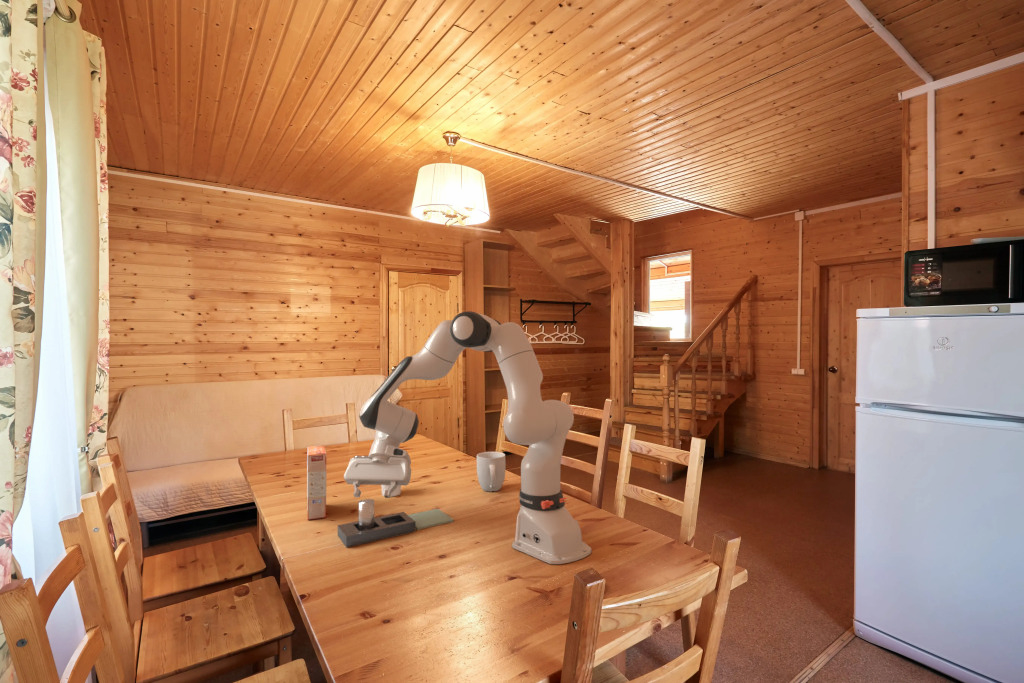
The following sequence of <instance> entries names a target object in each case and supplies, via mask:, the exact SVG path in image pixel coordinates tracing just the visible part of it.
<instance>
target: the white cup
mask: <svg viewBox="0 0 1024 683" xmlns="http://www.w3.org/2000/svg"><path fill="white" fill-rule="evenodd" d="M380 486H381V495H382V496H383V497H384V494H385V490H388V489H389V488H390V487H391V485H380ZM401 493H402V485H397V488H396V489H395V490H394V491H393V492H392V493H391V497H396V496H399V495H401ZM391 497H390V498H391Z"/></svg>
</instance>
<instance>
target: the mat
mask: <svg viewBox="0 0 1024 683" xmlns="http://www.w3.org/2000/svg"><path fill="white" fill-rule="evenodd" d="M407 515H408V516H409V517H411V518H412V519H413V520H414V521H415V524H416V530H417V531H418V530H423V529H427V528H431V527H434V526H435V527H436V526H440V525H444V524H448V523H453V522H454V521H455V519H453V518H452V517H451V516H449V515H448V514H446V513H445V512H444V511H442V510H440V509H439V508H434V509H429V510H425V511H420V512H416V513H412V514H407ZM454 523H455V522H454Z"/></svg>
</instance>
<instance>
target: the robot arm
mask: <svg viewBox="0 0 1024 683" xmlns="http://www.w3.org/2000/svg"><path fill="white" fill-rule="evenodd" d="M465 349H471V350H473V351H476V352H477V351H478V352H484V353H491V352H493V354H494V356H495V358H496V361H497V364H498V367H499V369H500V373H501V375H502V378H503V382H504V385H505V388H506V392H507V411H506V415H505V416H504V419H503V423H502V424H503V426H502V427H503V432H504V434H505V436H506V438H507V439H508V441H510V442H511V443H512V444H515V445H518V446H519V445H521V446H528V449H527V451H526V453H525V455H523V456H524V457H523V458H522V460H521V461H520V462H521V463H520V490H519V496H518V499H519V504H520V508H519V510H518V514H517V516H516V525H515V537H514V538H515V539H514V540H513V542H511V543H512V544H511V548H513V549H514V550H517V551H520V552H522V553H524V554H526V555H528V556H530V557H531V556H532V557H533V558H535V559H537V560H540V561H542V562H545V563H547V564H550V565H562V564H567V563H569V564H570V563H572V562H576V561H579V560H581V559H584V558H585V557H587V556H590V554H592V547H590V545H588V544H587V543H586V542H584V541H583V536H582V535H583V534H582V530H581V527H580V524H579V522H578V520H576V519H574V518H573V516H572V515H571V513H570V512H569V510H568V509H567V508H566V506H565V505H566V502H567V500H566V499H567V496H566V497H564V495H563V492H562V489H561V465H562V464H561V463H562V457H563V456H562V455H563V452H564V448H565V444H566V439H567V436H568V434H569V431H570V429H571V428H572V427H573V424H574V420H575V416H574V411H573V409H572V408H571V407H570V405H569V404H568V403H566V401H565V402H564V401H561V400H558V399H546V400H542V395H541V394H542V393H541V384H542V382H543V380H544V374H543V372H542V369H541V367H540V364H539V361H538V359H537V355H536V354H535V351H534V349H533V346H532V344H531V341H530V340H529V338H528V336H527V334H526V333H525V331H524V329H523V328H522V326H521V325H520V324H518V323H516V322H514V321H513V322H511V321H507V322H504V323H501V322H499V320H497V319H493V317H489V316H487V315H486V314H483V313H479V312H476V311H462V312H459V313H458V314H457V315H455V316H454V317H453V319H452V320H449V319H446V320H443V321H441V322H440V323H439V324H438V325H437V326H436V328H434V330H433V332H431V334H430V335H429V337H428V338H427V340H426V341H425V343H424V345H423V347H421V349H420V351H418V352H417V353H415V354H413V355H412V356H411V355H410V356H406V357H405V358H404V359H402V360H401V361H400V362H399V363H398V365H396V367H394V369H393V370H392V371H391V372H390V374H389V375H388V376H387V377H386V378H385V380H384V381H383V382H382V383H381V384H380V386H379V387H378V388H377V390H376V391H374V392H373V394H372V395H371V396H370V397H369V398H368V399H367V400H366V401H365V402H364V403H363V405H362V406H361V409H360V411H359V415H358V418H359V420H360V423H361V424H362V426H363V427H364V428H367V429H370V430H373V431H375V434H374V439H373V442H372V444H371V446H370V450H369V453H368V455H355V456H353V457H351V458H350V459H349V463H348V465H347V468H346V470H345V472H344V473H343V479H344V481H345V483H347V485H353V488H354V491H353V496H354V498H360V497H361V494H362V492H361V489H359V488H360V486H361V485H365V486H368V485H370V486H381V485H391V487H390V488H389V489H388V490H385V494H384V496H383V497H384V498H385V499H391V493H392V492H393V491H394V490H395V489H396V488H397V485H401V486H407V485H408V484H410V482H411V476H412V468H411V467H412V466H411V464H412V460H411V457H410V455H409V452H408V451H407V450H405V449H402V448H400V445H401V444H403V443H406V442H408V441H410V440H412V439H413V438H414V437H415V436H416V434H417V430H418V429H419V428H418V427H419V424H420V421H419V420H420V419H419V417H418V415H417V413H416V412H415V411H413V410H410V409H408V408H406V407H404V406H401V405H398V404H395V403H394V402H391V401H389V399H390V397H391V396H393V394H394V392H396V390H397V389H398V388H399V387H400V386H401V384H402V383H404V382H406V381H410V380H422V381H423V380H424V381H436V380H440V379H443V378H445V377H446V376H447V375H448V374H449V373H450V371H452V369H453V367H454V366H455V364H456V362H457V360H458V358H459V356H460V355H461V354H462V352H463V351H464V350H465Z"/></svg>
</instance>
